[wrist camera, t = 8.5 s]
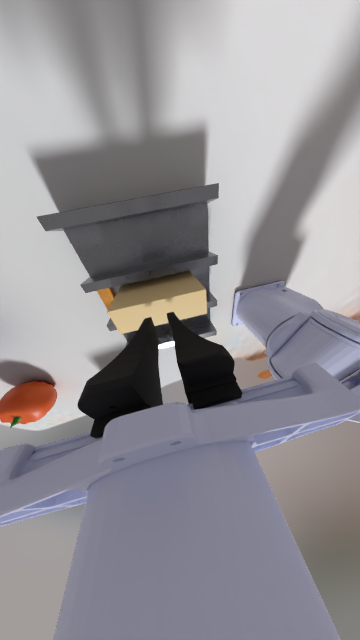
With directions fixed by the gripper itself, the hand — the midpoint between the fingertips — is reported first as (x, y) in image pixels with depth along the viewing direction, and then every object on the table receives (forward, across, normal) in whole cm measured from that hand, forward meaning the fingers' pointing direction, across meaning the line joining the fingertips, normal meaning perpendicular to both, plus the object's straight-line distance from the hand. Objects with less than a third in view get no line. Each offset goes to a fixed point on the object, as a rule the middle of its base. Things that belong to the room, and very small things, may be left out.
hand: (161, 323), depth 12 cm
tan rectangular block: (+9, 0, 0) cm, 9 cm away
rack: (+10, 0, 0) cm, 10 cm away
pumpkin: (+10, +30, +16) cm, 35 cm away
